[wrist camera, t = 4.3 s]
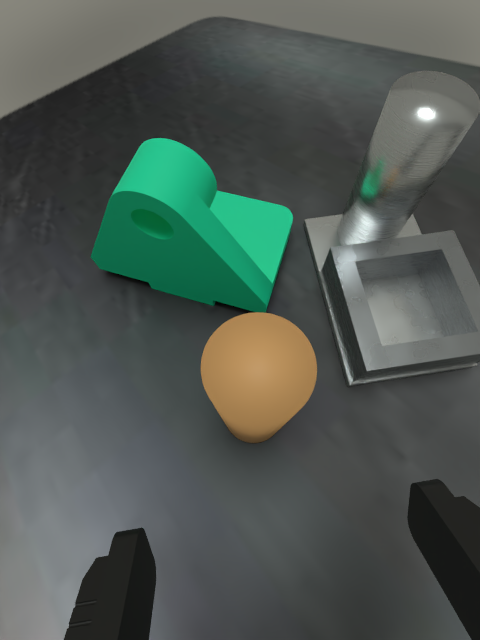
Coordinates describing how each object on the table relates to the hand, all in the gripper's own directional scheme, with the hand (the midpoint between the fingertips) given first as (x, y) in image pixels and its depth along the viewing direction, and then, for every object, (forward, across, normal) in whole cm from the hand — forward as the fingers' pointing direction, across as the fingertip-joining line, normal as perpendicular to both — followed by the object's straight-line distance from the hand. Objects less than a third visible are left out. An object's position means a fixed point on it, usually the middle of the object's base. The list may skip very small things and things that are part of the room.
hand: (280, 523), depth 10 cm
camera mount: (+19, +2, -4) cm, 19 cm away
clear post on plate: (+15, -10, -1) cm, 18 cm away
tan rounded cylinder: (+10, 0, +4) cm, 11 cm away
